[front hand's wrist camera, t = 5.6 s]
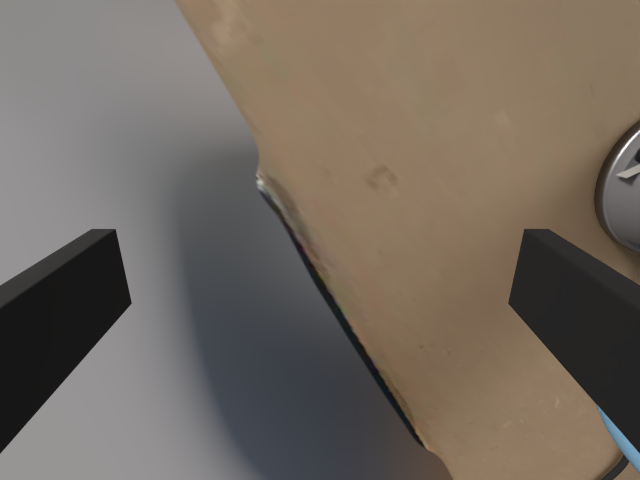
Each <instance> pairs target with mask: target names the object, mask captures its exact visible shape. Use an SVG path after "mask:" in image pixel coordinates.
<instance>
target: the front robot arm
mask: <svg viewBox="0 0 640 480" xmlns="http://www.w3.org/2000/svg"><path fill="white" fill-rule="evenodd" d="M595 209H596V214H597V218H598V220H599V222H600V225H601V226H602V228H603V229H604V231H605V232H606V233H607V234H608V235H609V236H610V237H611V238H612V239H613V240H615V241H616V242H618V243H619V244H621V245H623V246H625V247H627V248H629V249H631V250H633V251H635V252H637V253H640V121H639V122H638V123H636V124H635V125H634V126H633V127H632V128H631V129H630V130H628V131H627V132H626V133H625V134H624V135H623V137H622V138H621V139H620V140H619V141H618V142H617V144H616V145H615V146H614V147H613V149H612V150H611V152H610V153H609V155H608V157H607V158H606V160H605V162H604V164H603V166H602V168H601V171H600V174H599V176H598V180H597V183H596V189H595ZM508 304H509V305H510V306H511V307H512V308H513V309H514V310H515V312H516V313H517V314H518V315H519V316H520V317H521V318H522V320H523V321H524V322H525V323H526V324H527V325H528V326H529V328H530V329H531V330H532V331H533V332H534V333H535V334H536V336H537V337H538V338H539V339H540V340H541V341H542V342H543V344H544V345H545V346H546V347H547V348H548V349H549V350H550V352H551V353H552V354H553V355H554V356H555V357H556V358H557V360H558V361H559V362H560V363H561V364H562V365H563V366H564V368H565V369H566V370H567V371H568V372H569V373H570V374H571V376H572V377H573V378H574V379H575V380H576V381H577V382H578V384H579V385H580V386H581V387H582V388H583V389H584V390H585V392H586V393H587V394H588V395H589V396H590V397H591V398H592V400H593V401H594V402H595V403H596V404H597V408H598V411H599V413H600V415H601V418H602V421H603V423H604V425H605V427H606V429H607V430H608V432H609V434H610V435H611V437H612V438H613V440H614V441H615V443H616V444H617V446H618V447H619V448H620V450H621V451H622V453H623V454H624V455H623V457H622V459H621V460H620V462H619V463H618V464H617V465H616V466H615V467H614V468H613V469H612V470H611V471H610V472H609V473H608V474H607V475H606V476H604V477H603V478H602V479H601V480H613V479H614V478H615V477H616V476H618V475H619V474H620V473H621V472H622V471H623V470H624V468H625V467H626V466H627V465H628V463H629V462H630V463H631V464H632V465H633V466H634V468H635V469H636V470H637V471H638V472H639V474H640V285H638V284H636V283H635V282H633V281H631V280H630V279H628V278H627V277H625V276H623V275H622V274H620V273H618V272H617V271H615V270H614V269H612V268H610V267H609V266H607V265H606V264H604V263H602V262H601V261H599V260H597V259H596V258H594V257H593V256H591V255H589V254H588V253H586V252H584V251H583V250H581V249H580V248H578V247H576V246H575V245H573V244H572V243H570V242H568V241H567V240H565V239H563V238H562V237H560V236H559V235H557V234H555V233H554V232H552V231H550V230H549V229H524V233H523V238H522V243H521V247H520V252H519V257H518V261H517V266H516V270H515V275H514V280H513V284H512V289H511V293H510V298H509V303H508ZM130 305H131V298H130V293H129V289H128V284H127V280H126V275H125V270H124V266H123V261H122V257H121V252H120V247H119V243H118V238H117V233H116V230H115V229H91V230H90V231H88V232H86V233H85V234H83V235H81V236H80V237H78V238H77V239H75V240H73V241H72V242H70V243H68V244H67V245H65V246H64V247H62V248H60V249H59V250H57V251H56V252H54V253H52V254H51V255H49V256H47V257H46V258H44V259H43V260H41V261H39V262H38V263H36V264H34V265H33V266H31V267H30V268H28V269H26V270H25V271H23V272H21V273H20V274H18V275H17V276H15V277H13V278H12V279H10V280H9V281H7V282H5V283H4V284H2V285H1V286H0V453H1V452H2V451H3V450H4V449H5V448H6V446H7V445H8V444H9V443H10V442H11V441H12V440H13V438H14V437H15V436H16V435H17V434H18V433H19V431H20V430H21V429H22V428H23V427H24V426H25V425H26V423H27V422H28V421H29V420H30V419H31V418H32V417H33V416H34V414H35V413H36V412H37V411H38V410H39V409H40V408H41V406H42V405H43V404H44V403H45V402H46V401H47V400H48V398H49V397H50V396H51V395H52V394H53V393H54V391H55V390H56V389H57V388H58V387H59V386H60V385H61V384H62V382H63V381H64V380H65V379H66V378H67V377H68V376H69V374H70V373H71V372H72V371H73V370H74V369H75V368H76V366H77V365H78V364H79V363H80V362H81V361H82V359H83V358H84V357H85V356H86V355H87V354H88V353H89V351H90V350H91V349H92V348H93V347H94V346H95V345H96V343H97V342H98V341H99V340H100V339H101V338H102V337H103V335H104V334H105V333H106V332H107V331H108V330H109V329H110V328H111V326H112V325H113V324H114V323H115V322H116V321H117V320H118V318H119V317H120V316H121V315H122V314H123V313H124V312H125V310H126V309H127V308H128V307H129V306H130Z"/></svg>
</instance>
